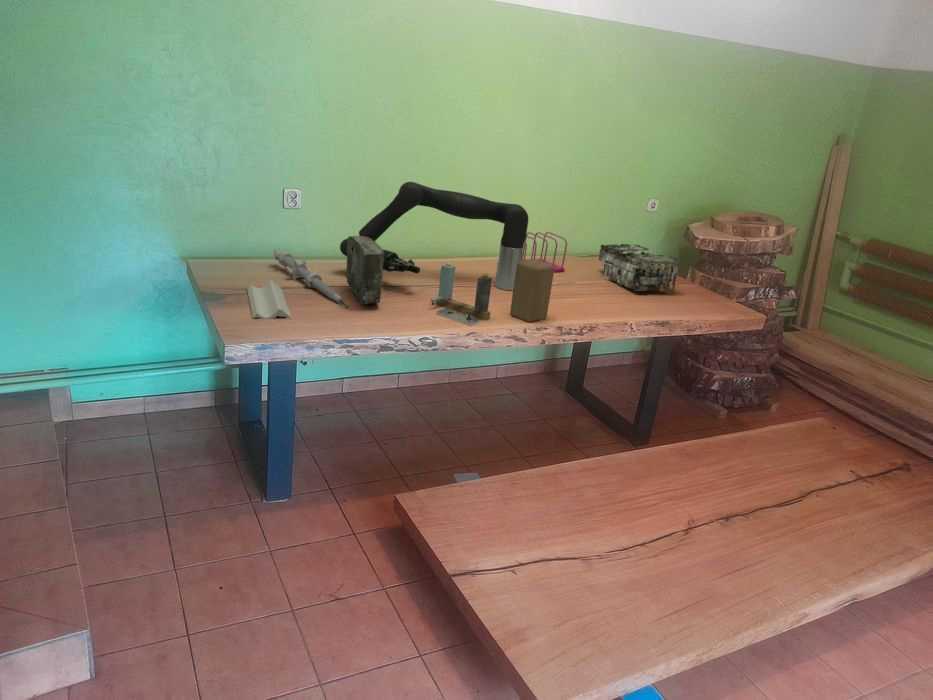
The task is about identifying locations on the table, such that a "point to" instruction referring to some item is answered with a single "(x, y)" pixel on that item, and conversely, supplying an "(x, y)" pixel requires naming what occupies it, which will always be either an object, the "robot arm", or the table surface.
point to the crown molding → (267, 301)
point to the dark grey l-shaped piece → (480, 300)
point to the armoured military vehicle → (638, 268)
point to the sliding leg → (445, 282)
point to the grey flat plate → (458, 316)
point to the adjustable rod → (306, 275)
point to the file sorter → (556, 267)
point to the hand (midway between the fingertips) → (418, 270)
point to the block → (532, 290)
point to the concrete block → (365, 268)
